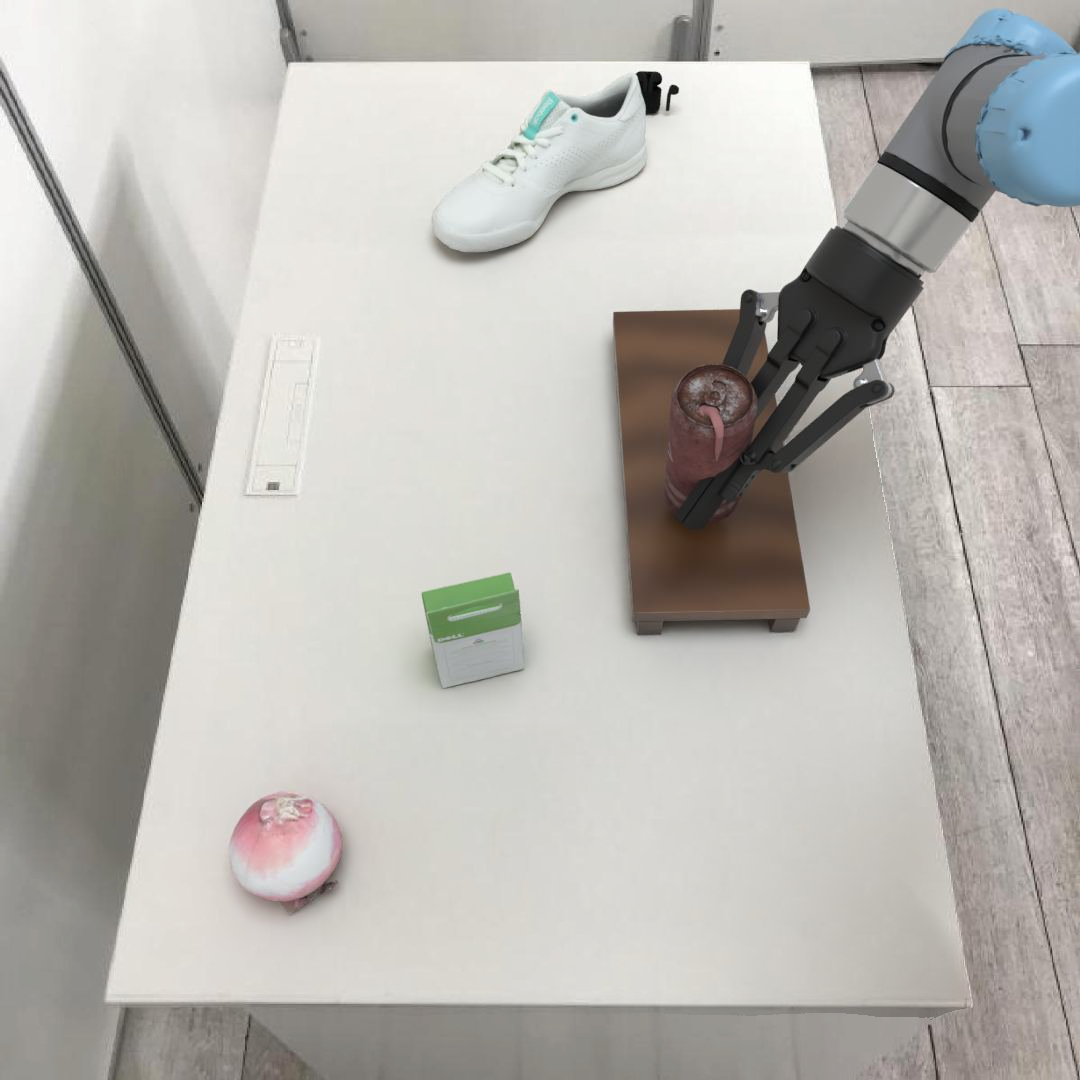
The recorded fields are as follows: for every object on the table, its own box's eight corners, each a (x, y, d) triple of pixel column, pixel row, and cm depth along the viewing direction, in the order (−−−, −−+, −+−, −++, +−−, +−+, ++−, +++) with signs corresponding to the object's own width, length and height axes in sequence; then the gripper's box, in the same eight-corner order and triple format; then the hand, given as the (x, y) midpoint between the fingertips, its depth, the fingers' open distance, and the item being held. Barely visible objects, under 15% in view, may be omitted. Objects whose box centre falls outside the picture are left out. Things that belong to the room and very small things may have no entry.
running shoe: (410, 227, 113) (395, 134, 102) (602, 122, 121) (606, 26, 111) (466, 281, 108) (457, 189, 98) (661, 168, 117) (671, 73, 107)
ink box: (514, 627, 88) (508, 545, 77) (526, 670, 86) (521, 592, 75) (432, 646, 88) (413, 566, 76) (441, 690, 86) (423, 614, 74)
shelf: (800, 632, 88) (810, 610, 84) (630, 635, 88) (633, 613, 84) (754, 336, 104) (761, 308, 101) (611, 339, 104) (613, 311, 101)
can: (676, 537, 85) (685, 441, 73) (655, 472, 88) (661, 368, 76) (750, 521, 85) (771, 422, 73) (727, 456, 88) (744, 351, 76)
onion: (361, 818, 80) (344, 788, 74) (334, 923, 76) (314, 901, 70) (259, 801, 81) (234, 770, 75) (227, 905, 77) (198, 881, 71)
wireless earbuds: (614, 115, 121) (616, 76, 117) (615, 101, 123) (617, 61, 118) (676, 116, 121) (680, 77, 117) (676, 102, 122) (680, 63, 118)
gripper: (973, 309, 73) (771, 573, 82) (823, 212, 78) (648, 471, 87) (951, 294, 67) (735, 582, 75) (789, 189, 72) (604, 471, 80)
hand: (689, 522), depth 81 cm, fingers closed
